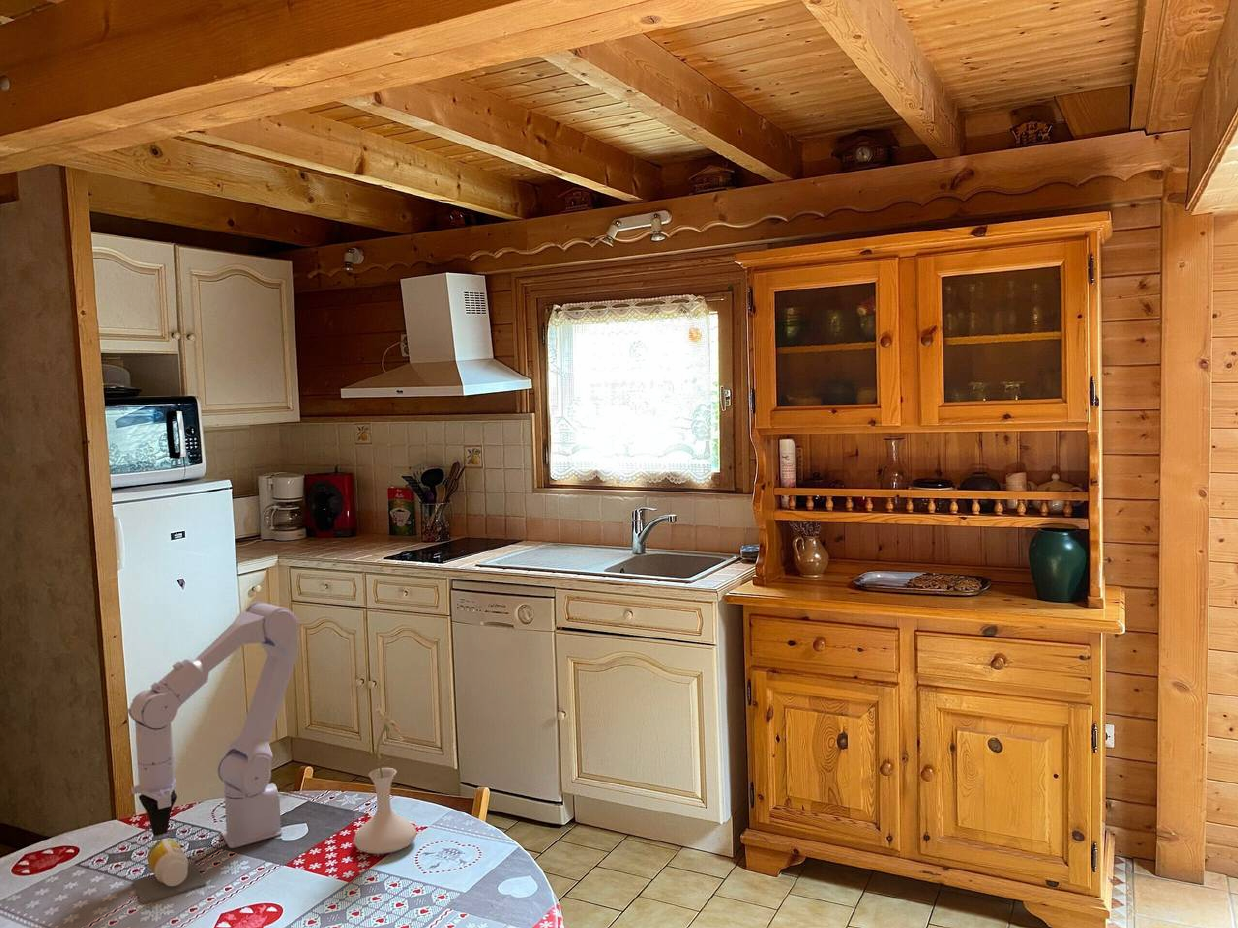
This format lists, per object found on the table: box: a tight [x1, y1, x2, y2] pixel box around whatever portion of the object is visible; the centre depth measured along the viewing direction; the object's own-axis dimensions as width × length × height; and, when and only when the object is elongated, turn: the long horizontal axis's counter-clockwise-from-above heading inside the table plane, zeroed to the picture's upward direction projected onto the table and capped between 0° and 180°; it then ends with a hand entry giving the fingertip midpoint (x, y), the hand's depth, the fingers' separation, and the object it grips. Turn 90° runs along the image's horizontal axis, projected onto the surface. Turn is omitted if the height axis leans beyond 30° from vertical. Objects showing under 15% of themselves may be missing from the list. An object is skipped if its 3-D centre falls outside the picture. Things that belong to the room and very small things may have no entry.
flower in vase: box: [352, 707, 417, 855], centre depth 178 cm, size 13×11×25 cm
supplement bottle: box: [146, 838, 189, 886], centre depth 167 cm, size 5×5×10 cm
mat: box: [132, 862, 207, 905], centre depth 166 cm, size 10×9×1 cm
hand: (160, 833), depth 171 cm, fingers closed
